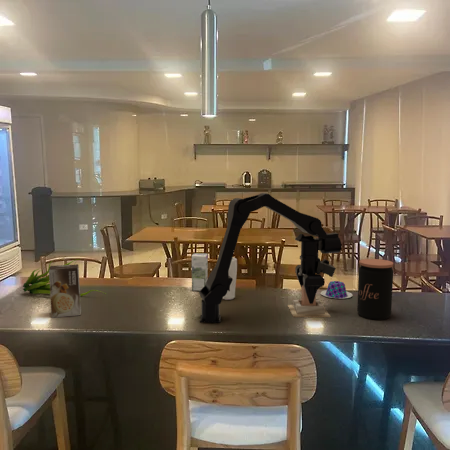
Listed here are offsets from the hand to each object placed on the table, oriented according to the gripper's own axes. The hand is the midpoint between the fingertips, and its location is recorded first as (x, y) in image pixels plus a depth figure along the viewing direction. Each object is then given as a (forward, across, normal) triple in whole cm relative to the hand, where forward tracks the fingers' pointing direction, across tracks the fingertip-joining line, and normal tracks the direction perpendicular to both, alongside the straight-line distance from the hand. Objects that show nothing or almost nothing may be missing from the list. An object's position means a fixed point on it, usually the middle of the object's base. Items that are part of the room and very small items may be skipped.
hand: (308, 299), depth 147 cm
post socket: (+4, 0, 0) cm, 4 cm away
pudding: (+5, +20, -15) cm, 26 cm away
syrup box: (+4, +28, +38) cm, 47 cm away
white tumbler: (+4, +16, +27) cm, 32 cm away
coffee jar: (+4, -4, -21) cm, 22 cm away
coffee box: (+4, -2, +81) cm, 81 cm away
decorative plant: (+5, +19, +90) cm, 92 cm away
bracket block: (+4, 0, 0) cm, 4 cm away
